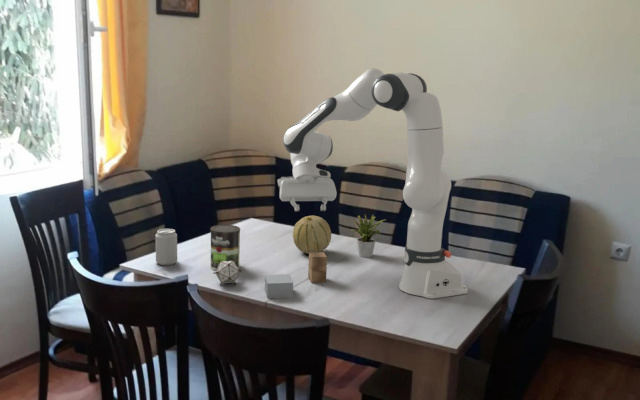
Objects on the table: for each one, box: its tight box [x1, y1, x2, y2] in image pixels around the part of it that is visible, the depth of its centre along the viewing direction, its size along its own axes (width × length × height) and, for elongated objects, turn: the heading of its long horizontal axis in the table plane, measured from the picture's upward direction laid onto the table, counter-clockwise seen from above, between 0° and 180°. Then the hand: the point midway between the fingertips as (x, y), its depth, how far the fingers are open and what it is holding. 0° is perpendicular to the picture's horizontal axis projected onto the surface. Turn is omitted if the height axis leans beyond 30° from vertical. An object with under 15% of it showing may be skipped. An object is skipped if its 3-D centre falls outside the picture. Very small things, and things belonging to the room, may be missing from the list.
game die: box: [213, 258, 242, 286], centre depth 208 cm, size 9×8×10 cm
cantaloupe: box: [292, 215, 332, 255], centre depth 243 cm, size 15×15×15 cm
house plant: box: [351, 214, 387, 258], centre depth 242 cm, size 14×14×16 cm
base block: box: [264, 273, 294, 299], centre depth 202 cm, size 8×8×5 cm
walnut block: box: [307, 251, 328, 284], centre depth 215 cm, size 5×5×9 cm
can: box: [155, 228, 178, 266], centre depth 226 cm, size 8×8×12 cm
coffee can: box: [209, 224, 241, 271], centre depth 224 cm, size 10×10×14 cm
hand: (310, 210), depth 223 cm, fingers open, 8 cm apart
